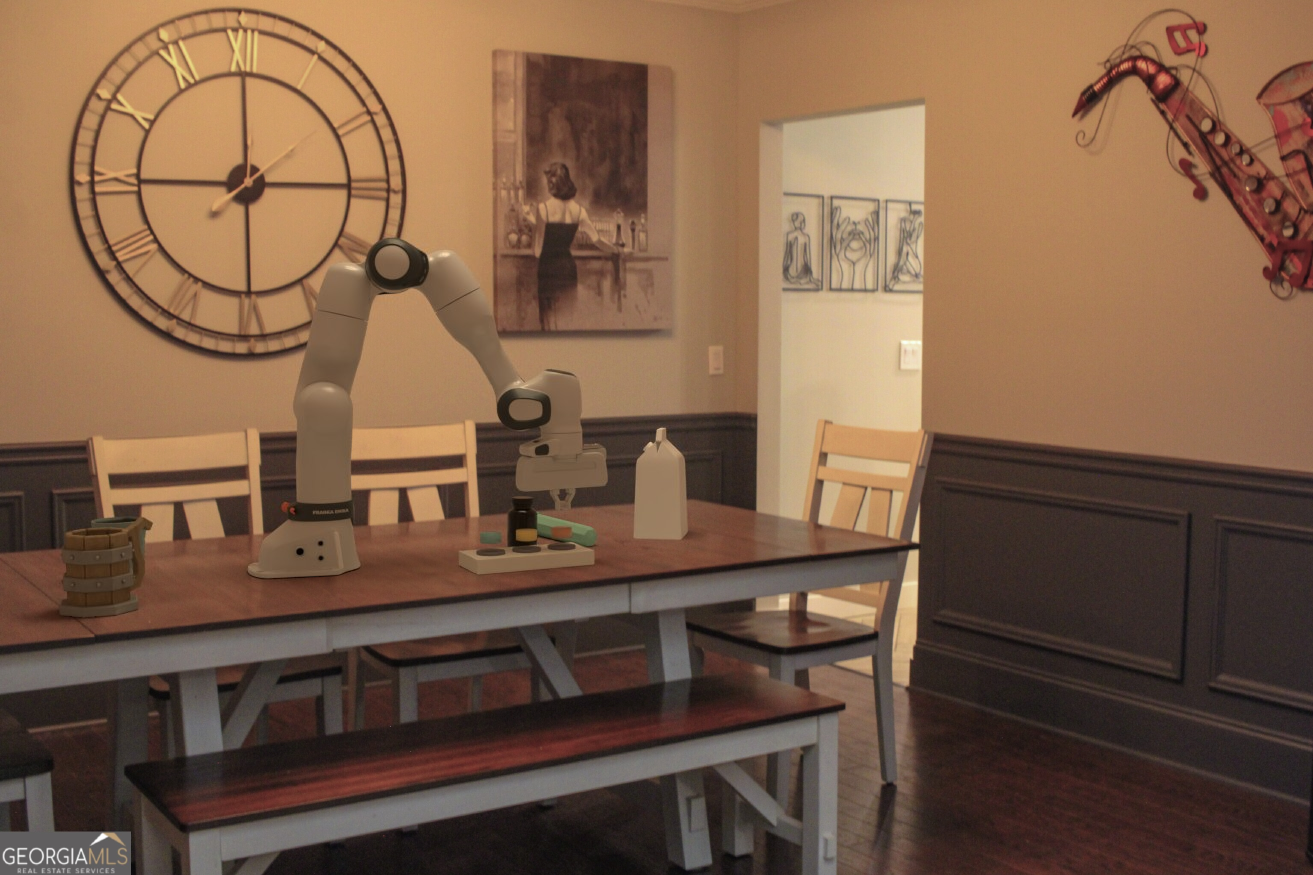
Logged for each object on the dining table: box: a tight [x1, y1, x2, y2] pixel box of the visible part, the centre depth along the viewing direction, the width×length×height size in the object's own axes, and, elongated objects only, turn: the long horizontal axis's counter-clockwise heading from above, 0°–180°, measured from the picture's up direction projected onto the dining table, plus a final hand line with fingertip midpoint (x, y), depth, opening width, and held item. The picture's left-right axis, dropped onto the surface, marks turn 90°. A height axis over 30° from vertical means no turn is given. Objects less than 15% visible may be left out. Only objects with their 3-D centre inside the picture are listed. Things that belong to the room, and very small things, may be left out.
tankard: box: [59, 516, 154, 619], centre depth 229 cm, size 20×13×15 cm, turn 158°
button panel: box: [458, 542, 595, 576], centre depth 271 cm, size 26×12×4 cm, turn 117°
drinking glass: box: [90, 516, 147, 569], centre depth 254 cm, size 10×10×12 cm
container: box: [536, 511, 598, 548], centre depth 304 cm, size 6×6×25 cm
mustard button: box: [516, 529, 538, 541], centre depth 271 cm, size 4×4×2 cm
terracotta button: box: [551, 526, 572, 539], centre depth 274 cm, size 4×4×2 cm
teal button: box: [479, 530, 502, 545], centre depth 267 cm, size 4×4×2 cm
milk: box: [633, 427, 689, 541], centre depth 310 cm, size 12×12×26 cm
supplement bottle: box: [506, 495, 538, 547], centre depth 289 cm, size 7×7×12 cm
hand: (562, 509), depth 274 cm, fingers closed
